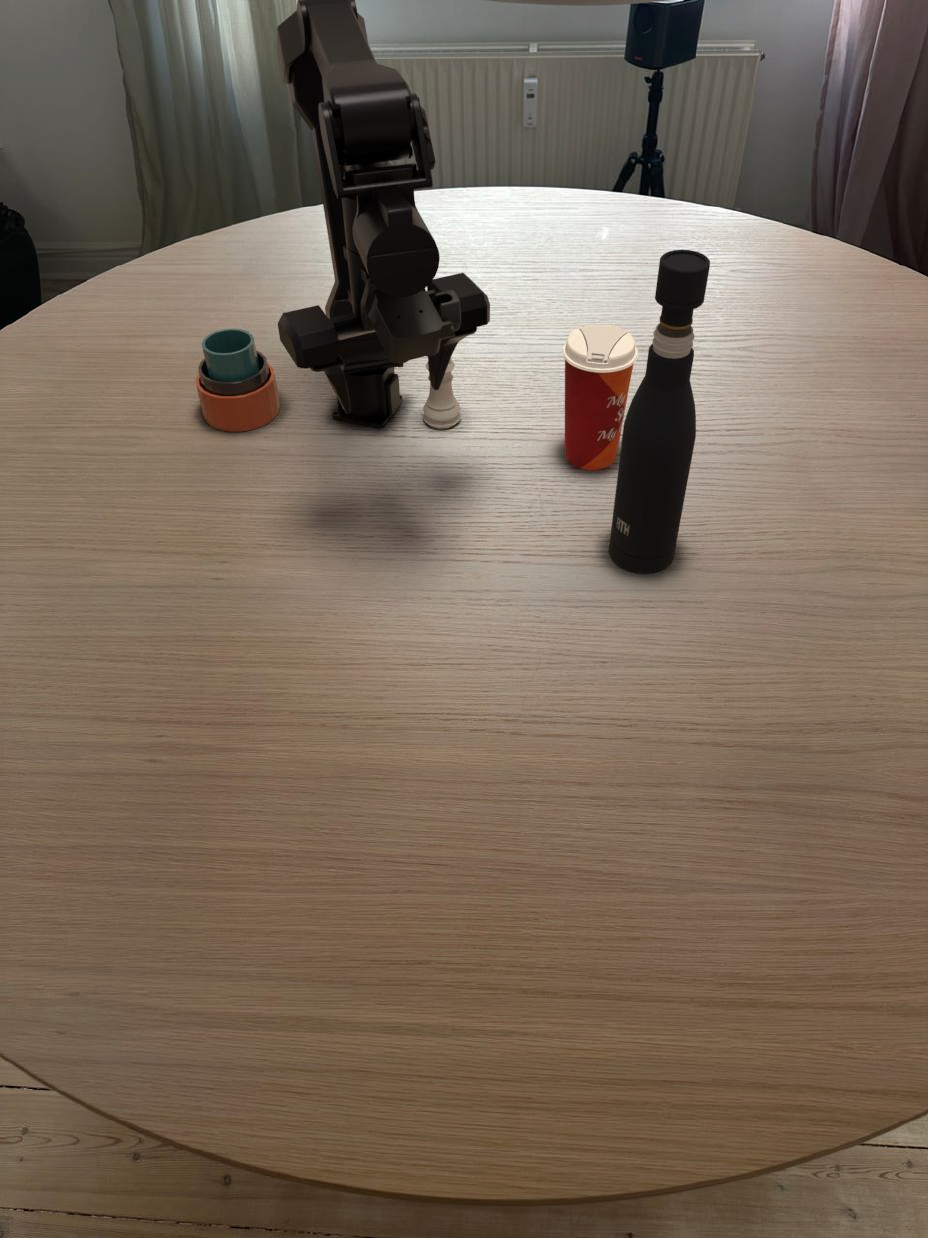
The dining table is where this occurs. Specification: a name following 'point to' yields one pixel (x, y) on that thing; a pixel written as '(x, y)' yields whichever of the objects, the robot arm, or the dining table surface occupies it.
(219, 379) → the teal cup
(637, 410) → the black insulated water bottle
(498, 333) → the dining table surface
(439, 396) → the rook chess piece
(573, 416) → the paper cup
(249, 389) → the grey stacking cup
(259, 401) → the stack base cup
